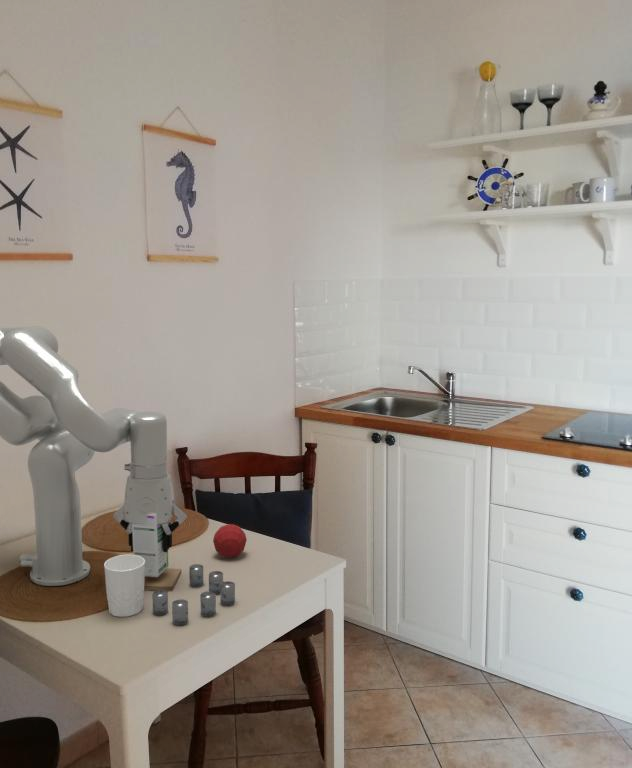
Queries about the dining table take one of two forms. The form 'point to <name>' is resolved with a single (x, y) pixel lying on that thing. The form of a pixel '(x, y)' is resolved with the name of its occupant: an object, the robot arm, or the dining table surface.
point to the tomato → (229, 540)
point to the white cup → (125, 584)
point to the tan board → (163, 580)
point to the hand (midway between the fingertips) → (150, 548)
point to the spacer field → (206, 598)
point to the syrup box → (150, 545)
